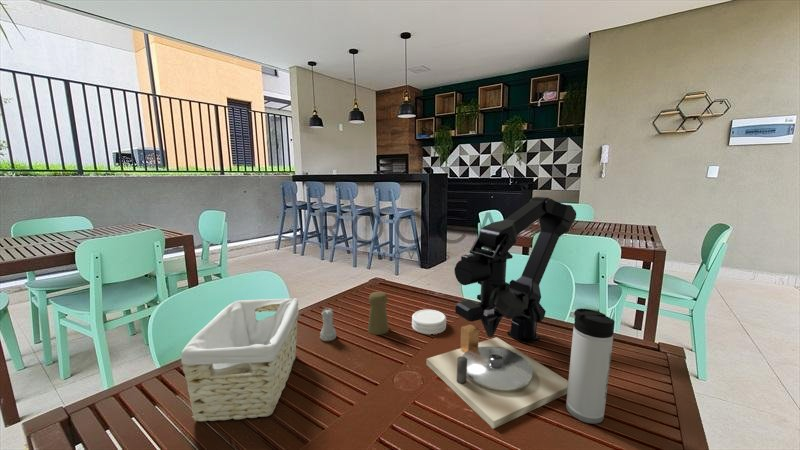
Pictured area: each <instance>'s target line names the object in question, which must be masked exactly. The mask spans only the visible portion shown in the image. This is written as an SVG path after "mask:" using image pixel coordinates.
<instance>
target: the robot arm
mask: <svg viewBox="0 0 800 450" xmlns="http://www.w3.org/2000/svg"><path fill="white" fill-rule="evenodd" d="M576 218H577V212H576V210H575V208H574V206H572V204H564V203H563V202H559V201H556V200H554V199H553V198H550V197H547V196H546V197H543V196H534V197H532V198H531V199H530V200H529V201H528V202H526V204H524V205H523V206H521V207H520V208H519V209H518V210H516V211H515V212H513V213H512V214H510V215H509V216H508V217H506V218H505V219H502V220H499V221H495V222H494V221H493V222H491V223H488V224H487V225H484V226H483V227H482V228H481V229H480V230H479V234H478V235H477V237H476V239H475V241H474V242H473V244H472V246H471V247H470V250H469V254H462V255H461V257H460V260H458V261H457V262H456V264H455V267H454V275H455V279H456V280H457V282H458V283H459V284H460V285H462V286H468V285H473V284H476V283H477V284H478V285H480V294H477V295H476V299H477V300H478V301H480V302H478V303H476V302H474V301H472V300H470V299H468V300H463V301H458V302H457V303H455V314H456V315H458V316H459V317H461V318H463V319H465V320H466V321H468V322H475V321H479V320H480V321H481V323H482V326H483V329H484V331H485V334H486V335H487V337H489V339H492V338H493V337H494V335H495V334H496V331H497V328H498V327H499V324H500V322H501V320H502V319H503V318H504V317H505V319H508V320H509V319H511V322H510V323H511V324H510V330H507V332H506V334H507V335H509V336H510V337H512V338H513V339H516V340H517V341H519V342H521V343H522V344H525V345H526V344H528V343H531V342H535V341H537V340H539V339H541V338H542V337H541V335H539V334H538V333H537V326H538V323H542V321H543V320H545V316H546V310H545V308H544V307H543V305H542V304H541V303H540V302H541V299H542V294H541V288H540V285H541V284H540V283H541V281H542V280H543V276H544V274H545V273H546V269H547V267H548V265H549V262H550V261H551V258H552V255H553V253H554V250H555V248H556V245H557V244H558V241H559V238H560V237H562V236H563V235H564V234H565V233H567V232H568V231H569V230H570V229H571V227H572V225H573V224H574V222H575V221H576ZM536 221H538V223H539V227H540V232H539V233H538V236H537V238H536V241H535V243H534V245H533V247H532V250H531V252H530V255H529V257H528V259H527V261H526V264H525V266H524V268H523V269H524V270H523V271H522V274H521V275H520V277H518V279H511V280H510V281H509V282H506V274H507V262H508V261H507V260H510V259H513V258H514V256H513V255H512V254H511V253H510V252H509V251H510V250H511V248H512V247H513V246H514V245H515V244H516V243H517V239H518V236H519V235H520V234H521V233H523V231H525V230H526V229H528V228H529V227H530V226H531V225H533V224H534V223H536Z"/></svg>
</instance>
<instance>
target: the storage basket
mask: <svg viewBox="0 0 800 450" xmlns="http://www.w3.org/2000/svg"><path fill="white" fill-rule="evenodd" d="M299 311H300V308H299V299H298V298H296V297H294V298H270V299H268V298H267V299H266V298H264V299H244V300H243V299H242V300H241V299H240V300H235V301H234V302H232V303H229V305H226V306H225V307H224V308H223V309H222V310H221V311H220V312H219V313H218V314H216V316H214V318H212V319H211V320H210V321H208V323H207V324H206V325H205V326H204V327H202V328H201V329H200V330H199V331H198V332H197V333H196V334H195V335H194V336H193V337H192V338H191V339H190V340H189V341H188V343H187V344H186V345H185V347H184V348H183V350H182V351H181V352H180V353H181V354H180V355H181V357H180V358H181V359H180V360H181V363H180V364H182V370H183V374H184V377H185V381H186V384H187V385H186V386H187V391H188V394H189V395H188V396H189V403H190V407H191V413H192V414H193V415H192V416H191V418H193V420H194V421H196V422H207V421H209V422H214V421H227V420H232V419H233V420H244V419H247V418H249V419H254V418H255V419H256V418H258V417H260V418H262V417H263V418H264V417H269V416H271V415H272V414H273V413H274V411H275V409H276V407H277V404H278V403H279V399H280V398H281V395H282V392H283V390H284V389H285V388H286V384H287V383H286V382H287V381H288V379H289V377H290V373H292V367H293V365H294V362H295V360H296V354H297V346H296V345H297V342H298V339H297V338H298V333H297V332H298V328H297V327H298V317H299ZM256 312H258V313H262V312H268V313H269V312H275V313H274V314H273V315H271V316H268V317H265V318H263V319H260V320H257V317H256V315H257V314H256Z"/></svg>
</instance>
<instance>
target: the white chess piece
mask: <svg viewBox="0 0 800 450" xmlns="http://www.w3.org/2000/svg"><path fill="white" fill-rule="evenodd" d="M334 314H335V313H334V311H333V308H331V307H330V308H329V307H328V308H327V307H326V308H323V309H322V312H321V316H322V328H321V331H320V332H319V335H320V336H319V339H320V340H321V341H323V342H331V341H334V340H335V339H336V338H337V331H336V329H335V327H334V324H333V320H334V317H333V315H334Z"/></svg>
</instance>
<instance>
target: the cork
mask: <svg viewBox="0 0 800 450" xmlns="http://www.w3.org/2000/svg"><path fill="white" fill-rule="evenodd" d="M368 302H369V304H370V309H369V315H368V317H369V318H368V325H367V333H369V334H371V335H374V336H379V335H385V334H387V333H388V332H389V329H390V327H389V320H388V313H387V307H386V304H387V303H388V296H387V294H386V293H385V292H383V291H374V292H371V293H370V294H369V296H368Z"/></svg>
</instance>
